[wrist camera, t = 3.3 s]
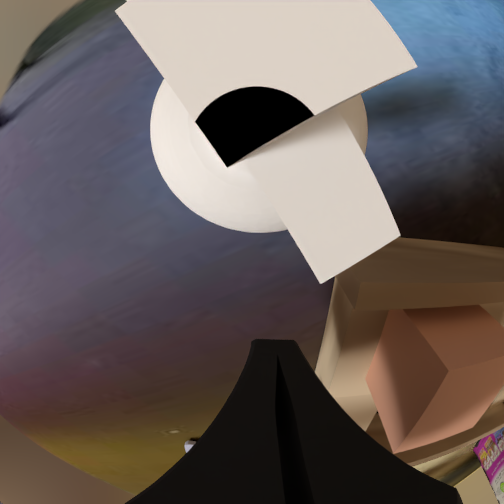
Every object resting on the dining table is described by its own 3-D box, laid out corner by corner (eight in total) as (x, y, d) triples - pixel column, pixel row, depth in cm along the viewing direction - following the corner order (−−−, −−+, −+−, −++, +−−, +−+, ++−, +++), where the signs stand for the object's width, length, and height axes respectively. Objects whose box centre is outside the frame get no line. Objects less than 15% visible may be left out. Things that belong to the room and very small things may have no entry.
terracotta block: (436, 368, 10) (472, 427, 7) (365, 379, 10) (393, 453, 7) (467, 295, 9) (524, 348, 5) (392, 297, 9) (448, 370, 5)
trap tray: (490, 389, 15) (512, 421, 11) (286, 428, 15) (291, 487, 11) (549, 253, 11) (588, 277, 7) (322, 231, 11) (360, 282, 7)
